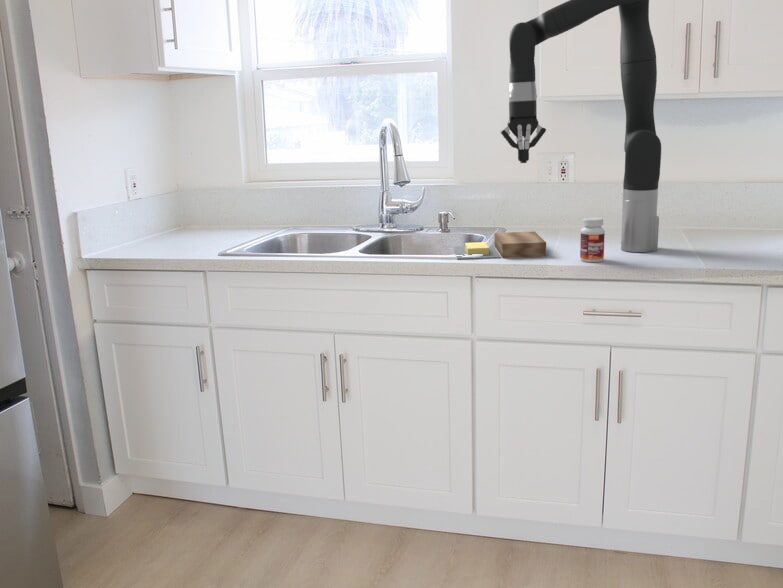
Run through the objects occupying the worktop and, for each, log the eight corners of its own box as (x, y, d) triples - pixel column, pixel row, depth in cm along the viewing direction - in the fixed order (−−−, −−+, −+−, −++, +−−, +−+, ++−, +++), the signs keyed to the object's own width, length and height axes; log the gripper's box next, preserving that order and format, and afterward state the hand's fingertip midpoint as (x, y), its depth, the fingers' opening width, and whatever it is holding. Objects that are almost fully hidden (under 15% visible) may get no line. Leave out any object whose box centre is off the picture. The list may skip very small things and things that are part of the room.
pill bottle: (588, 263, 197) (590, 221, 194) (575, 259, 202) (576, 218, 200) (608, 261, 199) (609, 218, 196) (594, 257, 204) (595, 216, 202)
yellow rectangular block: (464, 242, 219) (465, 249, 220) (467, 248, 211) (467, 255, 211) (485, 242, 219) (485, 248, 220) (488, 247, 211) (489, 254, 211)
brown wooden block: (534, 244, 225) (534, 231, 224) (545, 256, 208) (546, 242, 207) (494, 245, 225) (494, 232, 224) (502, 257, 208) (502, 243, 207)
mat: (492, 246, 225) (492, 245, 225) (500, 257, 208) (500, 256, 208) (453, 247, 225) (453, 246, 225) (457, 259, 208) (457, 258, 208)
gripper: (543, 98, 210) (544, 160, 214) (496, 101, 210) (498, 163, 214) (549, 98, 203) (549, 162, 207) (500, 100, 203) (501, 165, 207)
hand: (523, 162), depth 211 cm, fingers closed
